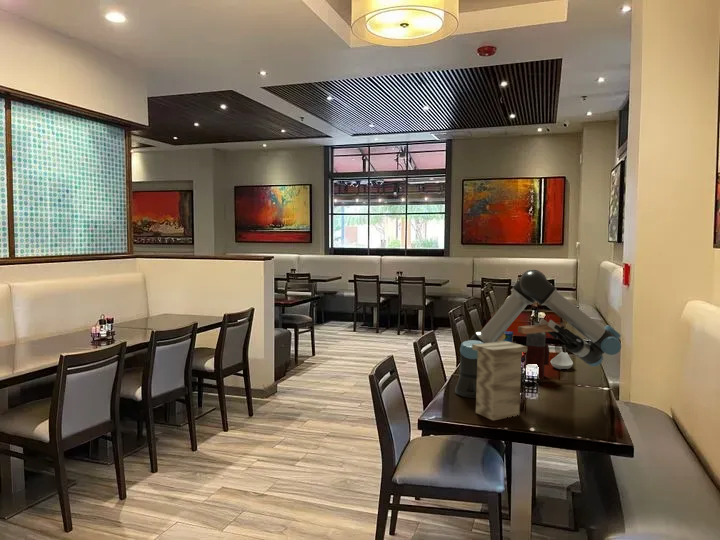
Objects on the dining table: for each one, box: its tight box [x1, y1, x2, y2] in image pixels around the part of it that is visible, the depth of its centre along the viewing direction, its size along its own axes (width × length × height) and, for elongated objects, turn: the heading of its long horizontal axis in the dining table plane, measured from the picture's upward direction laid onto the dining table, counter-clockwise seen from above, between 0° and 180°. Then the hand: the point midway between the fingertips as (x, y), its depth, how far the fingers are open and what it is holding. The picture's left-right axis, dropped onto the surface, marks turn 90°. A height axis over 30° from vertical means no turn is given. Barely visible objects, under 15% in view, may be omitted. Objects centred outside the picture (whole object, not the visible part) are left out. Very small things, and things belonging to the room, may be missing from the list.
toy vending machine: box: [525, 322, 550, 380], centre depth 264 cm, size 9×11×28 cm
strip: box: [517, 323, 564, 335], centre depth 216 cm, size 4×22×2 cm, turn 118°
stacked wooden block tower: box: [472, 341, 527, 421], centre depth 207 cm, size 12×18×28 cm, turn 118°
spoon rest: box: [549, 351, 574, 370], centre depth 289 cm, size 24×12×7 cm, turn 154°
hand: (545, 321), depth 216 cm, fingers closed on strip, 4 cm apart
